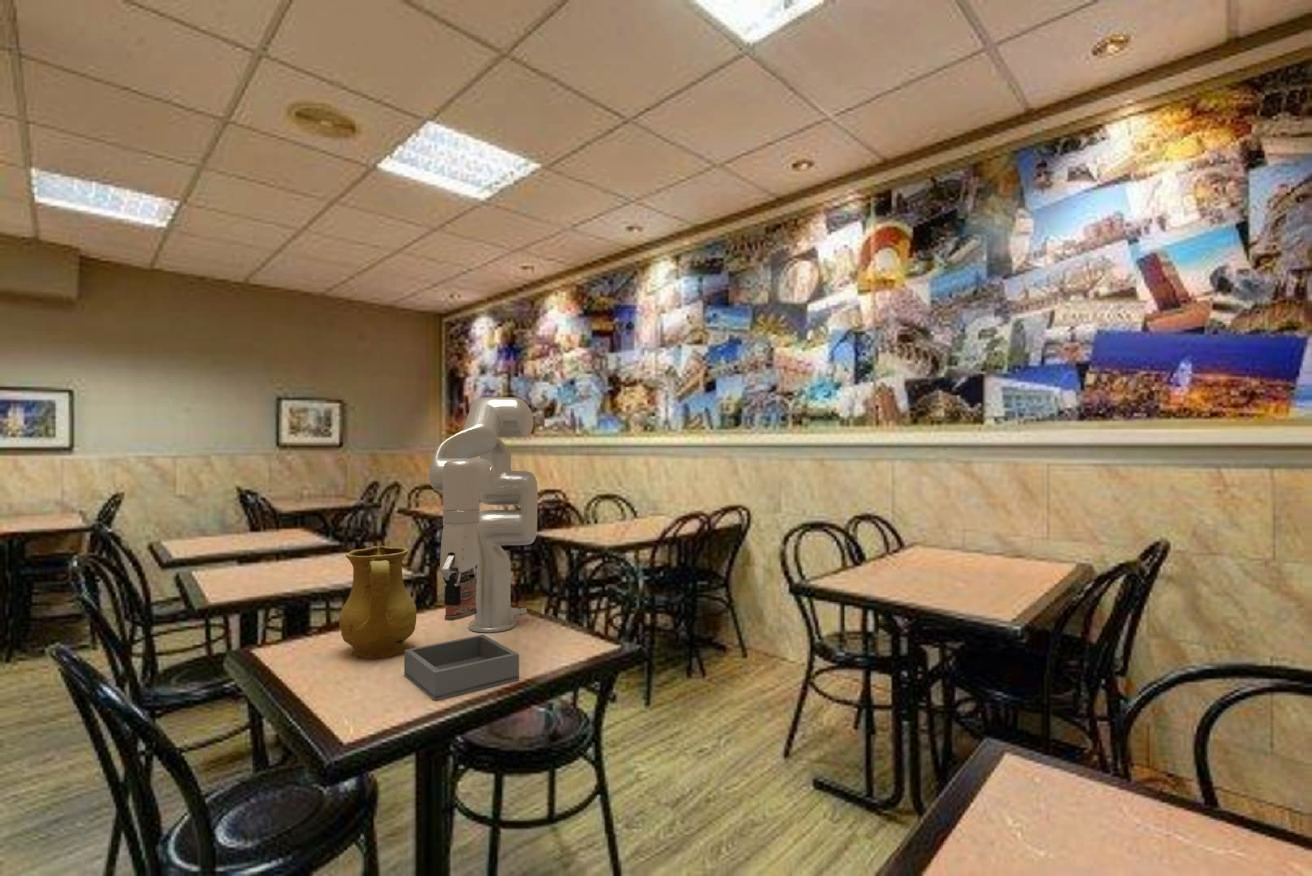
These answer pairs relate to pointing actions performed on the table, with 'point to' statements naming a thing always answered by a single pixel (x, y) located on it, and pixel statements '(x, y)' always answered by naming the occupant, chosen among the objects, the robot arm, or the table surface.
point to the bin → (460, 666)
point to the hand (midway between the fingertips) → (461, 599)
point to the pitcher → (377, 604)
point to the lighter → (464, 598)
